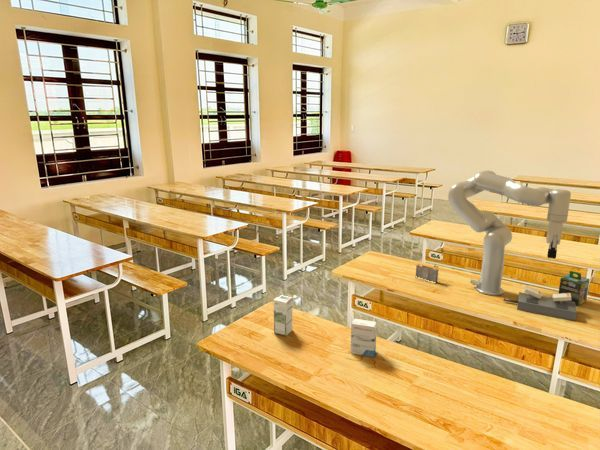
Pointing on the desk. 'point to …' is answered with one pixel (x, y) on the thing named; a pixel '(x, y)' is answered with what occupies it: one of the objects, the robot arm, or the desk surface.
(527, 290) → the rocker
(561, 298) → the block
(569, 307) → the power strip
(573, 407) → the desk surface
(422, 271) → the architectural model on board
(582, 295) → the chalk box
